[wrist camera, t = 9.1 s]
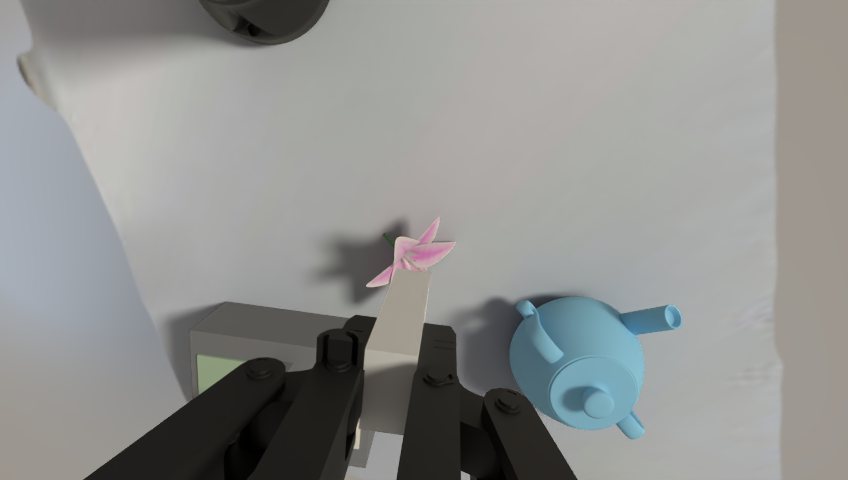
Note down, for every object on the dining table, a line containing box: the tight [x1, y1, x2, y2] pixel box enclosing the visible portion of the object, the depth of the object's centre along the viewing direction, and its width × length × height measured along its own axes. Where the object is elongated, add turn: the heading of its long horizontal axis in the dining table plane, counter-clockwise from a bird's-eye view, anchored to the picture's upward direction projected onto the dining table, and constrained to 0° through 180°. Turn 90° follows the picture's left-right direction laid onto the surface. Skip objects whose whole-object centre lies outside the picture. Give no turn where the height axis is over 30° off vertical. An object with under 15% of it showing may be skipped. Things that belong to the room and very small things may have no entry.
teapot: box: [509, 297, 682, 439], centre depth 46 cm, size 20×20×13 cm
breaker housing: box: [189, 302, 375, 468], centre depth 52 cm, size 22×16×11 cm
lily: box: [366, 217, 456, 287], centre depth 48 cm, size 12×12×10 cm
